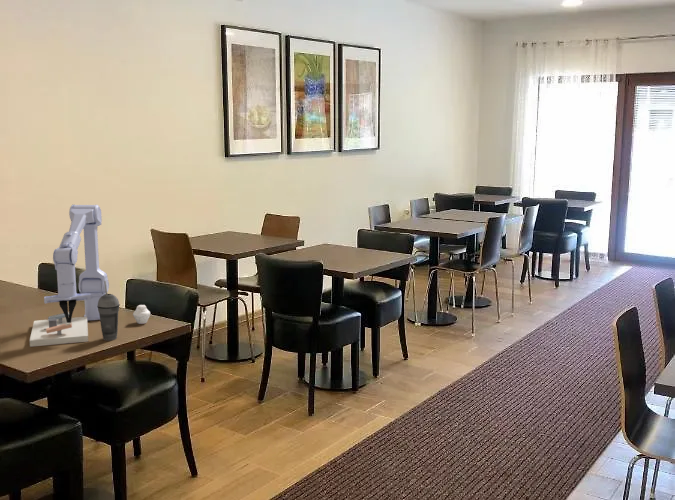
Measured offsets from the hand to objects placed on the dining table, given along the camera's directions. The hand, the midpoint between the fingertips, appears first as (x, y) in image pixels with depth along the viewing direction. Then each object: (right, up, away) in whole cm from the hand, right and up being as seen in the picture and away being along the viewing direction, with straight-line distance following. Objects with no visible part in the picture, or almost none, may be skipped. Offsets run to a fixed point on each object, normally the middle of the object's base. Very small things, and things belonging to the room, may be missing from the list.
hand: (69, 322), depth 233 cm
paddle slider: (-8, -3, +6) cm, 10 cm away
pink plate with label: (-3, -2, -1) cm, 4 cm away
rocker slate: (-9, +1, +14) cm, 16 cm away
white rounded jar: (+19, -3, +22) cm, 29 cm away
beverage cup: (+13, -6, +2) cm, 15 cm away
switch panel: (-6, -5, +7) cm, 10 cm away
